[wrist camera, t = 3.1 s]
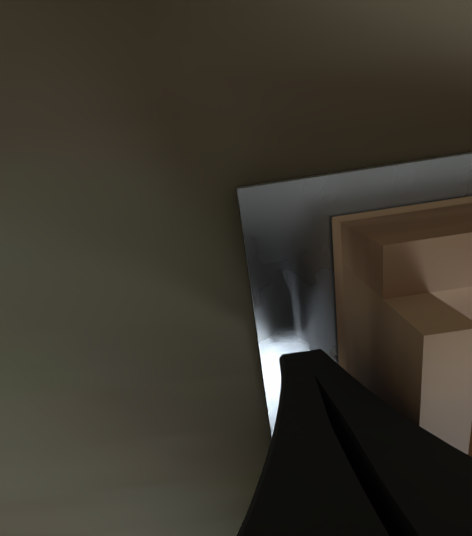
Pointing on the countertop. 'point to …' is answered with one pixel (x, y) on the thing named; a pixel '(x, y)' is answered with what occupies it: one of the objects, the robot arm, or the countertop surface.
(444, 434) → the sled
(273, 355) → the track
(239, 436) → the countertop surface
